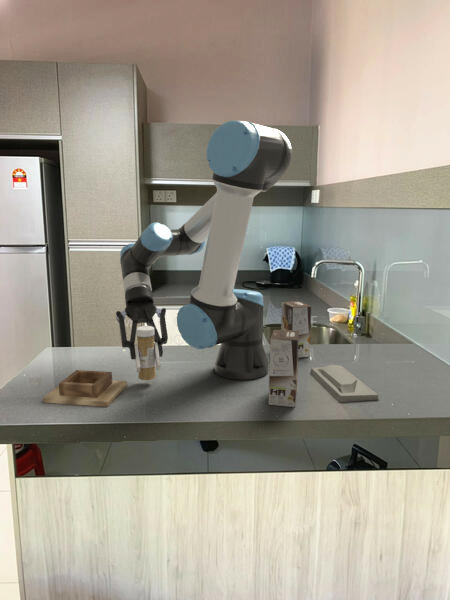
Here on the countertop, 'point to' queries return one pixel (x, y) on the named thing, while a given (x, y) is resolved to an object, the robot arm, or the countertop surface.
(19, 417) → the countertop surface
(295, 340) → the coffee box
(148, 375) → the sprinkles bottle
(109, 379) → the socket board
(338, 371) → the soap mold
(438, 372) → the countertop surface
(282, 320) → the coffee box
